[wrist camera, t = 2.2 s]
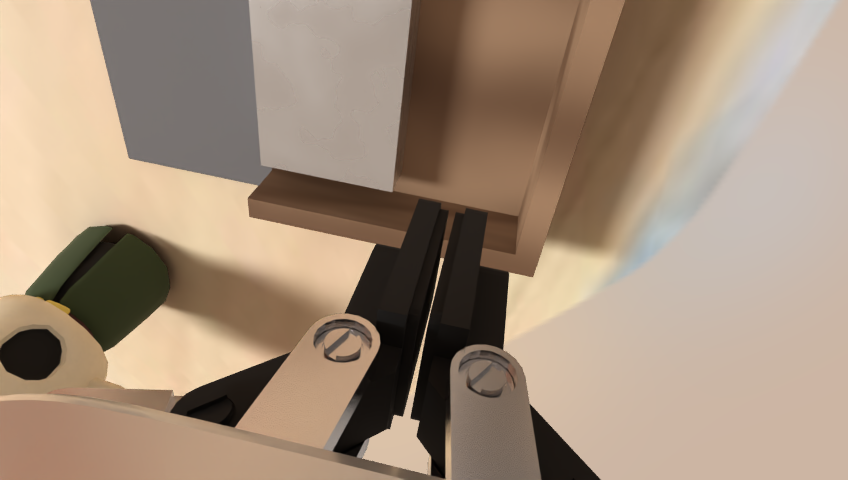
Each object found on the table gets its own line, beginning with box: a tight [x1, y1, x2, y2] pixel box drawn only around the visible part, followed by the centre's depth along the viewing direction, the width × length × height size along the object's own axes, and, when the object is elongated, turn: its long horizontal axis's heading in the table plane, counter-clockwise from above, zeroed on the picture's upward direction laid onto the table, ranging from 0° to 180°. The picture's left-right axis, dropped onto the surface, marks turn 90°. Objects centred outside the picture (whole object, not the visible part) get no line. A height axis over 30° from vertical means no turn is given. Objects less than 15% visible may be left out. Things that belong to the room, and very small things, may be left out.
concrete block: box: [249, 0, 421, 192], centre depth 21 cm, size 10×6×2 cm, turn 173°
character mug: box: [0, 226, 170, 396], centre depth 28 cm, size 11×7×13 cm, turn 74°
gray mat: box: [90, 0, 273, 185], centre depth 23 cm, size 16×8×1 cm, turn 173°
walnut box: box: [248, 0, 625, 277], centre depth 21 cm, size 14×13×4 cm
